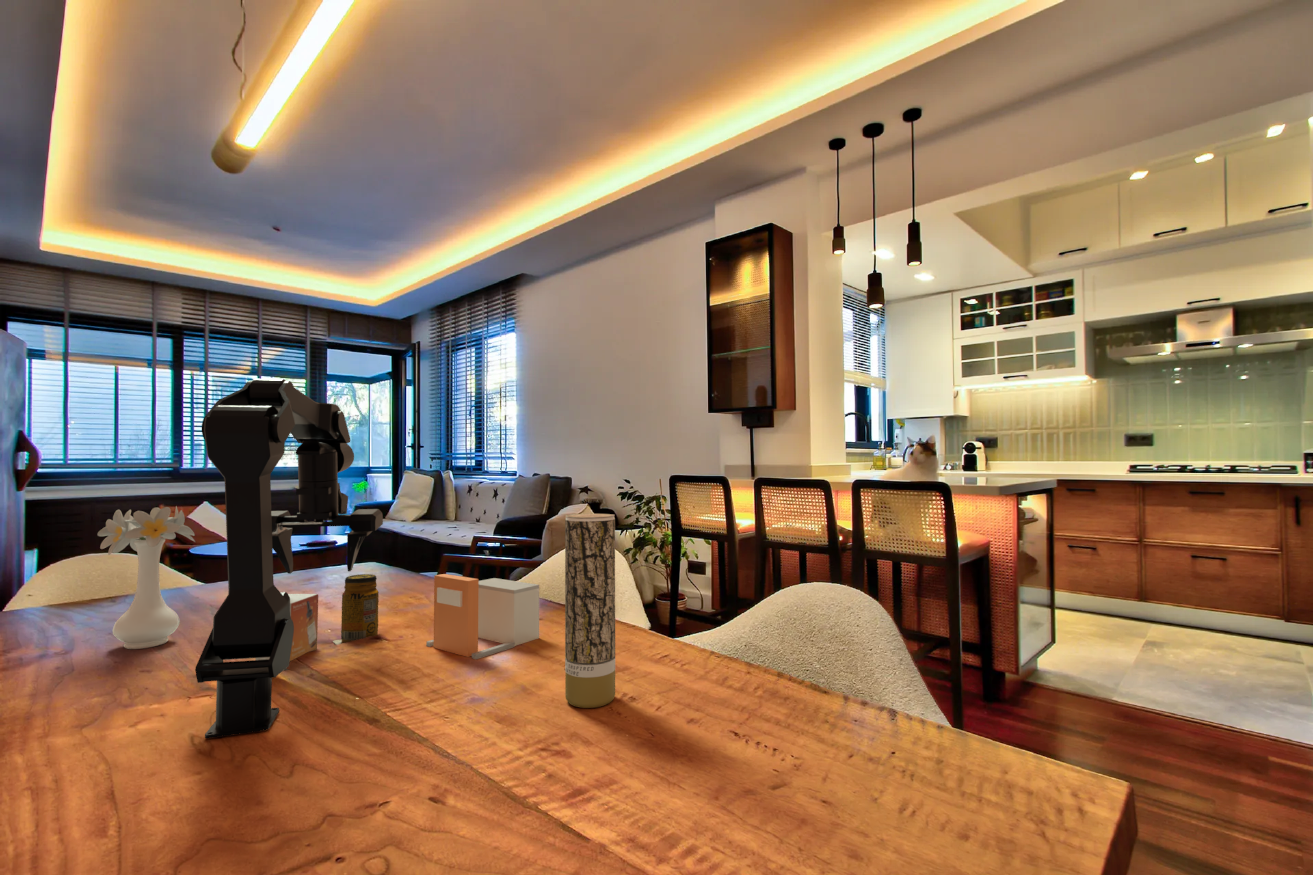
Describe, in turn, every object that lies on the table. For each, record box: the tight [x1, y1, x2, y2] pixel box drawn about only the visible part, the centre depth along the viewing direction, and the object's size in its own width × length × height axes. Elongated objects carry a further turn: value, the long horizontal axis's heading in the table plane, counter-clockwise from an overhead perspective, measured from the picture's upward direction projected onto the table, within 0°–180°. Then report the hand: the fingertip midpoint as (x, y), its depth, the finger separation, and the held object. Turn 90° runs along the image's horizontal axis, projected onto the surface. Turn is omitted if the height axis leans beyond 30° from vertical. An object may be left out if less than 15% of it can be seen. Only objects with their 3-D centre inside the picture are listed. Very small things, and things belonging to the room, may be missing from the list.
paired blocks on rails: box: [425, 577, 540, 660], centre depth 104 cm, size 20×14×11 cm
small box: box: [255, 593, 319, 671], centre depth 100 cm, size 8×6×10 cm
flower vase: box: [97, 505, 196, 650], centre depth 111 cm, size 13×18×25 cm
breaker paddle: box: [433, 573, 480, 658], centre depth 101 cm, size 2×9×12 cm, turn 55°
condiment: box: [332, 573, 380, 646], centre depth 111 cm, size 7×8×12 cm
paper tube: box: [564, 513, 616, 709], centre depth 84 cm, size 7×7×25 cm
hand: (320, 571), depth 103 cm, fingers open, 9 cm apart
